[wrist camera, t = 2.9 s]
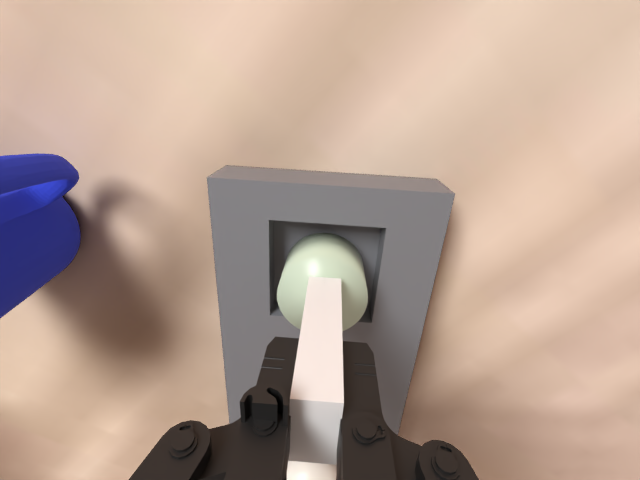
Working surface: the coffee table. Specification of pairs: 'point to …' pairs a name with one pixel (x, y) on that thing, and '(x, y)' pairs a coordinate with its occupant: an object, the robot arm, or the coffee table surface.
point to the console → (337, 218)
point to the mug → (34, 224)
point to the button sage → (323, 261)
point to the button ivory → (311, 471)
